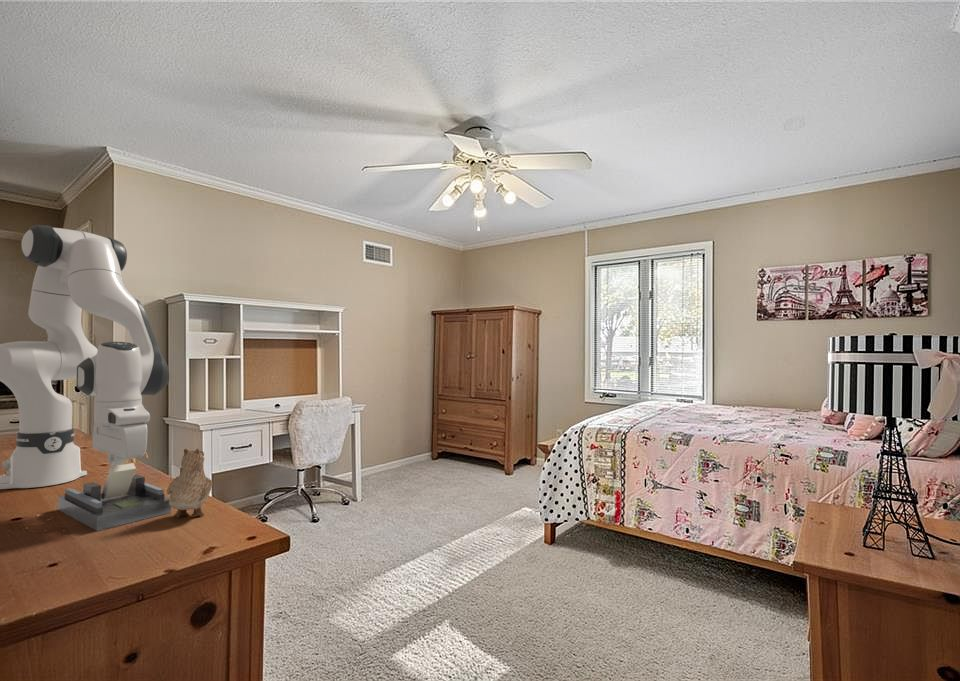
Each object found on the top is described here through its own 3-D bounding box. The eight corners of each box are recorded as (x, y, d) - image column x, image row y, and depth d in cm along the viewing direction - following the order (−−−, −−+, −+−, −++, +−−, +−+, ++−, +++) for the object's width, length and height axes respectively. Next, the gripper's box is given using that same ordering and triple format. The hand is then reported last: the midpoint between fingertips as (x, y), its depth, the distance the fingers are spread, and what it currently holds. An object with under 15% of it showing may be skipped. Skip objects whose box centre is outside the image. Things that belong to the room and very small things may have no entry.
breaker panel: (58, 509, 113) (58, 479, 113) (128, 495, 125) (128, 467, 125) (96, 531, 100) (97, 496, 100) (171, 512, 112) (171, 481, 112)
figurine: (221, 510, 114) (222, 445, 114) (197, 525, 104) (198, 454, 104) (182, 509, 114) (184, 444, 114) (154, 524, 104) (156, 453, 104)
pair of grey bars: (64, 497, 112) (64, 488, 113) (129, 484, 123) (129, 476, 123) (97, 513, 102) (97, 503, 102) (164, 498, 112) (164, 489, 112)
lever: (100, 495, 111) (109, 466, 108) (124, 490, 115) (134, 462, 112) (102, 501, 110) (112, 472, 108) (127, 496, 114) (137, 468, 112)
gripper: (84, 410, 116) (83, 469, 115) (120, 418, 104) (119, 483, 104) (116, 408, 121) (114, 464, 121) (153, 414, 109) (152, 477, 109)
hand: (117, 473), depth 112 cm, fingers closed
